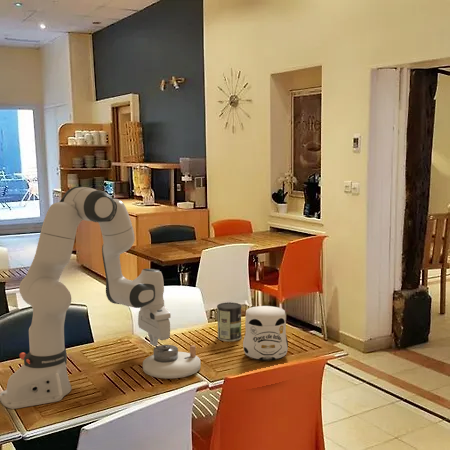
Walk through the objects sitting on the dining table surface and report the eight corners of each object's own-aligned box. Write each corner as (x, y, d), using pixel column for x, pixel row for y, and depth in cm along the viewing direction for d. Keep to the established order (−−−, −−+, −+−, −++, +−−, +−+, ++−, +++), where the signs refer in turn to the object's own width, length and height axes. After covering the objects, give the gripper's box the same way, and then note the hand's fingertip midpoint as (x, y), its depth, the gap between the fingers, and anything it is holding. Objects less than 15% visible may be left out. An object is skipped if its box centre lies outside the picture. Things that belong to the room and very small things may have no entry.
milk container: (264, 368, 211) (264, 321, 209) (233, 355, 224) (233, 310, 222) (297, 357, 222) (297, 312, 219) (266, 345, 235) (266, 302, 233)
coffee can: (241, 333, 250) (241, 302, 248) (241, 341, 240) (241, 308, 238) (217, 333, 250) (217, 302, 248) (216, 341, 240) (216, 308, 238)
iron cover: (160, 364, 208) (160, 352, 207) (149, 356, 215) (149, 345, 215) (182, 359, 213) (182, 347, 212) (170, 352, 220) (170, 340, 220)
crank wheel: (159, 383, 196) (159, 366, 196) (133, 364, 214) (132, 348, 213) (211, 369, 208) (211, 353, 207) (182, 352, 225) (182, 337, 224)
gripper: (133, 305, 227) (134, 338, 229) (157, 317, 210) (158, 354, 212) (148, 302, 230) (149, 335, 232) (172, 314, 214) (173, 350, 216)
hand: (153, 344), depth 222 cm, fingers closed
